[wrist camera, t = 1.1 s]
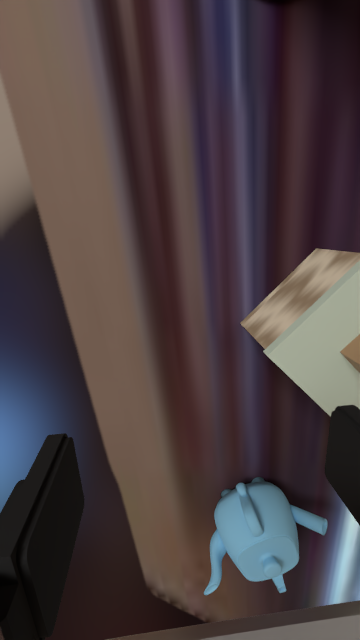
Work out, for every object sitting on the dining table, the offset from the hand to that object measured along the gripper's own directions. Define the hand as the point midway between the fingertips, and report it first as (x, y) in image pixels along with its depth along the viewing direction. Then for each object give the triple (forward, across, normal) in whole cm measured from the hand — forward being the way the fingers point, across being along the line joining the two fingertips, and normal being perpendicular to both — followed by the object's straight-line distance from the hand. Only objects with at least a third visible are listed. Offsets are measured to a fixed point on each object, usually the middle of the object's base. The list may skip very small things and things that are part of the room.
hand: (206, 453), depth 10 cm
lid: (+21, -20, +6) cm, 29 cm away
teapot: (+30, -12, +38) cm, 50 cm away
